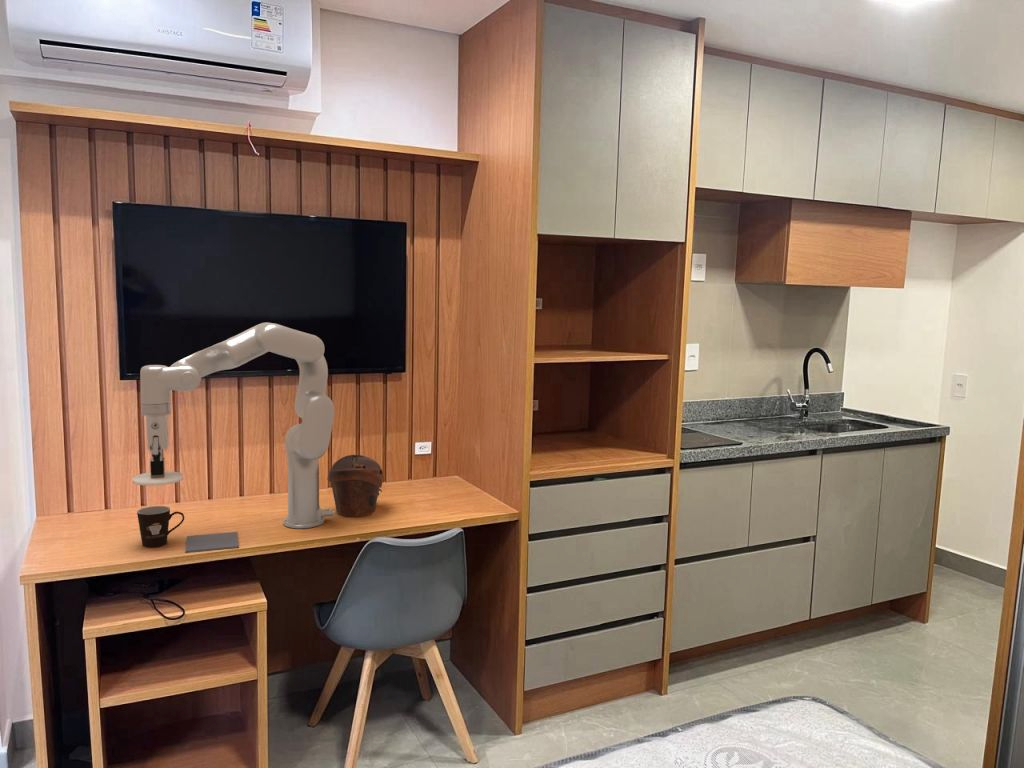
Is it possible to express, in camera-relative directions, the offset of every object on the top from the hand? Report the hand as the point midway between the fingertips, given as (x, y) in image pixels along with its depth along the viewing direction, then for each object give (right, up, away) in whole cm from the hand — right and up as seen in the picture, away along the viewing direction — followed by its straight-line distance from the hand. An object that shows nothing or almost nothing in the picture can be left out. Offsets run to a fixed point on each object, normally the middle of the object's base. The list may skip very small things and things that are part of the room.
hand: (157, 472), depth 219 cm
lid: (0, -2, 0) cm, 2 cm away
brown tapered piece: (+48, -18, +39) cm, 65 cm away
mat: (+14, -21, +5) cm, 25 cm away
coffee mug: (-1, -21, +2) cm, 21 cm away
